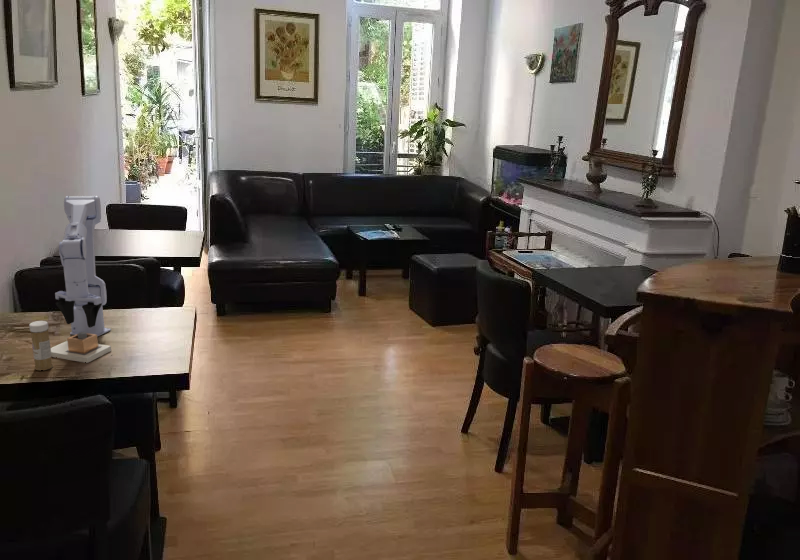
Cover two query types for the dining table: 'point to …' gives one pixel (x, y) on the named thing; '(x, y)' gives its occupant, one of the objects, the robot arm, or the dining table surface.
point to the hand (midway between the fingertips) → (81, 324)
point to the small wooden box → (82, 343)
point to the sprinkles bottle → (41, 345)
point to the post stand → (64, 353)
